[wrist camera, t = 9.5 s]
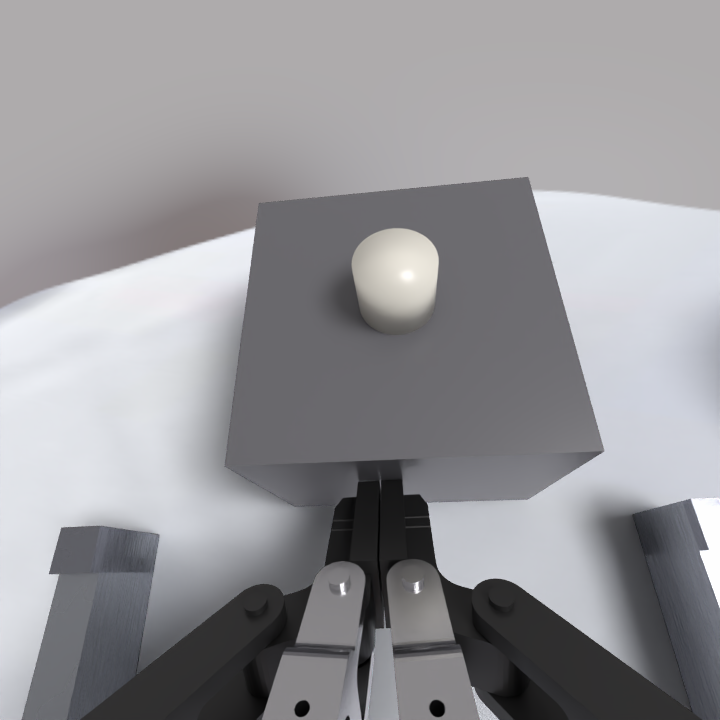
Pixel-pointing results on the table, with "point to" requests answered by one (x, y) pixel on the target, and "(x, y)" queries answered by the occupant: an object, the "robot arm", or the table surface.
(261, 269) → the plug block
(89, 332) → the table surface
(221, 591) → the table surface
